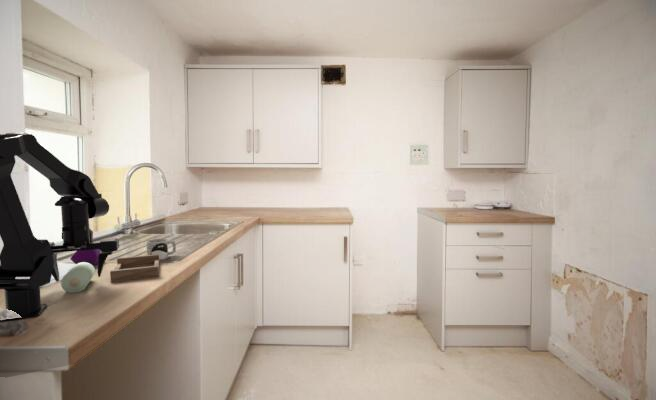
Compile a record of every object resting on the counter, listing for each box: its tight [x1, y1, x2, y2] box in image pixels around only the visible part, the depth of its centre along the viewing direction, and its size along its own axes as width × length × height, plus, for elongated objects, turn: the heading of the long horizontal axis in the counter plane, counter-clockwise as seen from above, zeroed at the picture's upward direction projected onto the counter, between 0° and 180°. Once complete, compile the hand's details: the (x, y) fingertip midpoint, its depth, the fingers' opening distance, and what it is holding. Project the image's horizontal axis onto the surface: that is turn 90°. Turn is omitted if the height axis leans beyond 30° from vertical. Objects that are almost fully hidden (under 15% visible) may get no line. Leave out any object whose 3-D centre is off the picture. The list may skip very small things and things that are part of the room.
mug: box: [146, 238, 177, 262], centre depth 121 cm, size 10×7×7 cm, turn 141°
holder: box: [109, 254, 160, 283], centre depth 105 cm, size 16×12×3 cm
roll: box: [60, 262, 96, 294], centre depth 91 cm, size 10×6×6 cm, turn 26°
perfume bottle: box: [69, 241, 101, 267], centre depth 111 cm, size 8×8×18 cm
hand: (79, 278), depth 91 cm, fingers open, 9 cm apart
